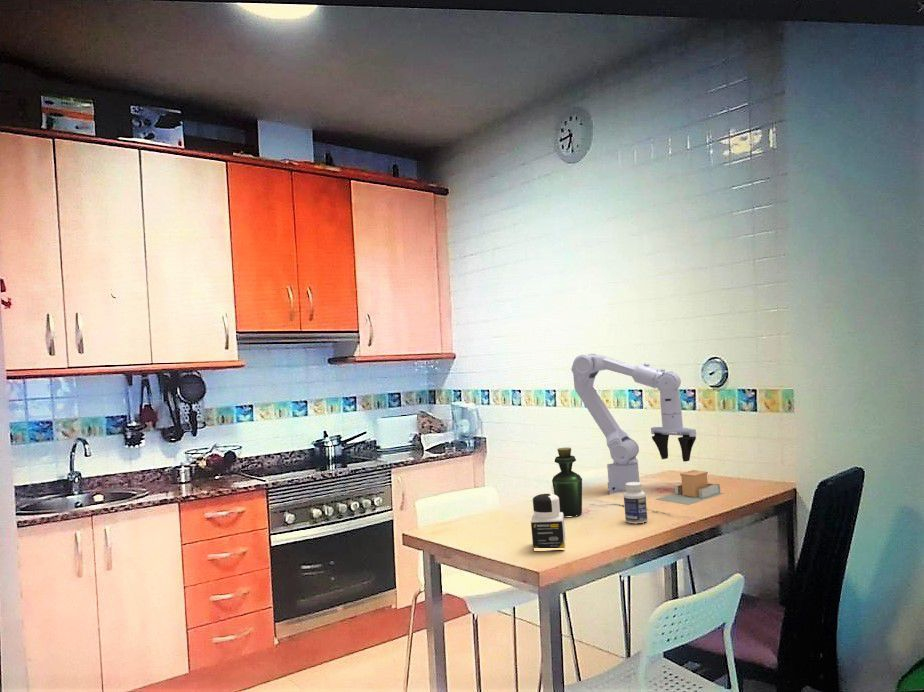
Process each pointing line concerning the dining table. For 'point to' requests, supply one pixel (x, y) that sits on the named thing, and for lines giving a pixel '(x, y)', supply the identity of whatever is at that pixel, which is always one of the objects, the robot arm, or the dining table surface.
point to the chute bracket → (701, 490)
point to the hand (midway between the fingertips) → (675, 459)
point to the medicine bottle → (547, 522)
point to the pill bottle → (635, 503)
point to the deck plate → (684, 499)
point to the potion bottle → (567, 484)
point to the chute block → (693, 482)
